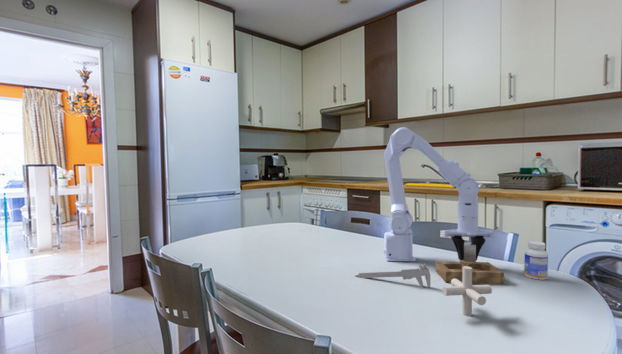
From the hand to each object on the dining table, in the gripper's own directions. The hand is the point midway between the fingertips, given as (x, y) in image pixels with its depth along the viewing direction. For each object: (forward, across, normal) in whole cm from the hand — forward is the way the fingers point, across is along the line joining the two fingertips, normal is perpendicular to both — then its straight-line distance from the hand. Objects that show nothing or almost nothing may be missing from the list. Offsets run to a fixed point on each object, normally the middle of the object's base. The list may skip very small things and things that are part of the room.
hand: (467, 259), depth 99 cm
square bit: (+2, 0, 0) cm, 2 cm away
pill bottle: (+2, +15, -9) cm, 18 cm away
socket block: (+2, -4, -10) cm, 11 cm away
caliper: (+2, -26, -15) cm, 30 cm away
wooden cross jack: (+2, -13, -33) cm, 36 cm away
